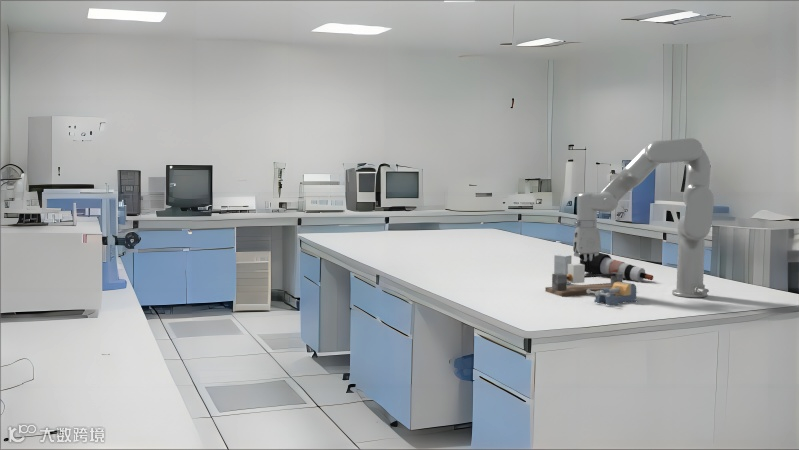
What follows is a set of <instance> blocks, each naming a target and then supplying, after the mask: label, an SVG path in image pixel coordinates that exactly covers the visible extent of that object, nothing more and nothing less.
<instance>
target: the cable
mask: <svg viewBox="0 0 799 450" xmlns="http://www.w3.org/2000/svg"><path fill="white" fill-rule="evenodd" d="M579 264H582V261H581V259H580V258H579ZM611 272H616V273H621V274H623V279H625V280H630V281H634V282H635V281H636V282H638V281H639V282H643V280H648V281H653V280H654V275H653V274H648V273H646V270H645V268H644V267H640V266H636V265H632V264H630V263H626V262H625V261H621V260H616V259H613V258H612V257H611V255H609V254H605V253H603V252H599V255H597V256H594V257H593V259H592V261H591V268H590V271H585V273H586V274H587V273H588V274H590V275H596V274H611Z"/></svg>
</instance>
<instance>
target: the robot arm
mask: <svg viewBox="0 0 799 450" xmlns="http://www.w3.org/2000/svg"><path fill="white" fill-rule="evenodd" d="M682 162H683V163H684V165H685V167H686V168H685V169H686V174H685V184H684V190H683V194H682V195H683V196H682V197H683V198H682V200H683V203H684V205H685V211H684V212H685V214H683V215H681V217H680V219H679V220H678V223H677V247H678V248H677V263H676V264H677V268H676V270H677V271H676V289H672V291H671V293H672V295H673V296H678V297H684V298H705V297H707V296H708V293H709V292H710V291H709V288H705V287H706V285H705V284H704V270H705V252H706V251H705V248H706V247H705V238H706V237H708V235H709V234H710V232H711V231H710V230H711V227H712V222H713V214H714V207H715V205H714V204H715V199H714V194H713V191H712V190H711V189H710V181H711V162H710V158H709V156H708V154H707V153H706V151H705V150H704V148H703V146H702V143H701V142H700V141H699V140H698V139H697V138H695V137H694V138H693V137H692V138H691V137H685V138H678V139H667V140H666V139H665V140H653V141H650V142H648V144H646V145H645V146H644V147H643V148H642V149H641V151H639V152H638V153H637V154H636V155H635V157H633V159H632V160H631V161H630V162H629V163H628V164H627V165H626V166H625V167H624V168H623V169H622V170H621V171H620V172H618V174H617V176H616V177H614V178H613V179H612V180H611V181H610V182H609V183H608V185H606V187H605V188H604V189H603V190H601V192H600V193H593V192H580V193H577V196H576V197H577V198H576V200H577V201H576V204H577V205H576V221H575V222H574V226H576V228H575V229H574V235H573V242H572V243H573V244H572V245H573V246H572V247H573V249H572V250H573V251H572V252H573V257H576V258H579V260H580V259H581V261H582V264H583V265H585V271H590V268H591V261H592V259H593V257H594V256H597V255H599V253H601V246H602V244H601V243H602V241H601V233H600V230H599V227H597V223H598V222H597V221H598V220H597V218H598V217H597V216H598V215H597V213H598V212H601V213H603V212H604V213H610V212H613V211H615V210H617V207H618V205H619V201H620V200H621V199H622V198H623V197H625V195H626V194H627V193H629V192H630V191H631V190H633V189H634V188H636V187H638V186H639V185H640V184H641V183H643V182H644V181H645V179H647V177H648V176H649V175H650V174H651V173H653V171H654V170H655V169H656V168H657V167H658V166H659V165H660V164H672V163H673V164H674V163H682Z"/></svg>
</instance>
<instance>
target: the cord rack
mask: <svg viewBox="0 0 799 450" xmlns="http://www.w3.org/2000/svg"><path fill="white" fill-rule="evenodd" d="M551 276H552V277H551V278H552V279H551V280H552V281H551V286H548V287H544V288H545V290H544V291H545V292H547V293H550V294H553V295H555V296H559V297H571V296H573V297H575V295H576V296H587V295H588V293H587V292H586V291H587V290H588V289H590V290H591V291H594V292H595V291H600V289H603V288H608V289H611V288H612V287H613V284H614V283H615V282H624V280H623V279H624V278H623V274H621V273H616V272H611V274H596V275H595V274H584V279H588V278H601V277H610V282H606V283H604V282H603V283H593V284H578V285H577V284H576V285H568V284H567V280H568V281H571V280H572V275H571V274H567V275H566V274H562V273H557V274H554V273H552V274H551ZM589 295H595V293H589Z"/></svg>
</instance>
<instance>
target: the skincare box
mask: <svg viewBox="0 0 799 450" xmlns="http://www.w3.org/2000/svg"><path fill="white" fill-rule="evenodd" d="M553 257H554V261H553V262H554V264H553V265H554V267H553V268H554V269H553V270H554V271H553V274H557V273H562V274H566V275H567V274H568V264H572V258H573V257H572V255H569V254H562V253H561V254H559V253H558V254H554V256H553ZM571 284H572V283H570V282H568V280H567V285H571Z"/></svg>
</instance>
